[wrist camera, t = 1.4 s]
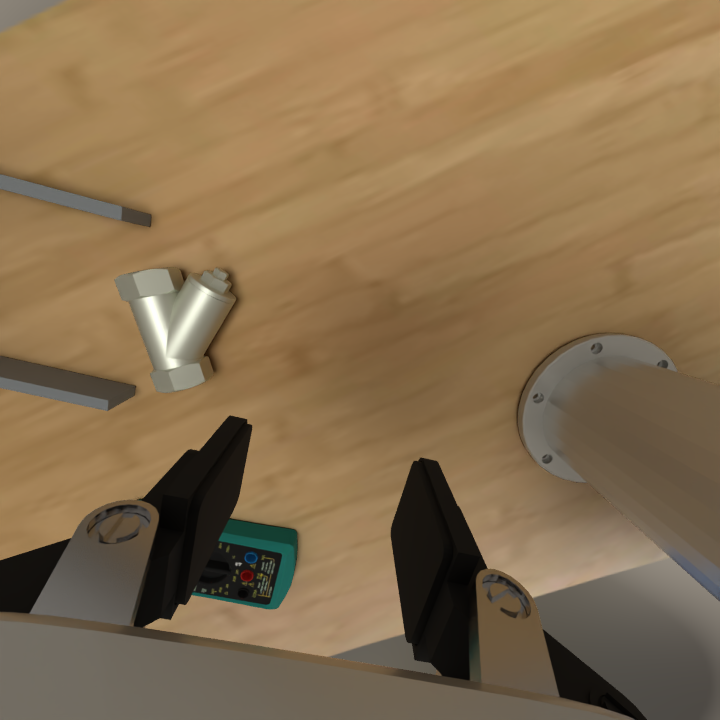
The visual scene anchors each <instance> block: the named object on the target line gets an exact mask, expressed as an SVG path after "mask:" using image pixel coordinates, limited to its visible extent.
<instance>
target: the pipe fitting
mask: <svg viewBox="0 0 720 720" xmlns="http://www.w3.org/2000/svg"><path fill="white" fill-rule="evenodd" d="M228 276H229V274H228V273H227V272H225V271H224V270H222V269H220V268H218V267H216V268H215V270H214V272H212V271H210V270H206V271H204V273H203V275H199V274H196V273H190V274H189V275H188V277H187V279H186V281H185V283H184V280H183V277H182V274H181V271H180V270H179V269H178V268H175V267H167V268H157V269H149V270H143V271H137V272H132V273H128V274H124V275H120V276H118V277H117V278H116V279H115V283H116V286H117V288H118V291H119V294H120V296H121V299H122V300H123V301H127V302H129V304H130V307H131V310H132V312H133V315H134V318H135V320H136V323H137V326H138V328H139V331H140V334H141V336H142V339H143V342H144V344H145V347H146V350H147V352H148V355H149V358H150V360H151V363H152V365H153V368H154V370H153V371H152V372H151V373H150V375H151V378H152V380H153V383H154V385H155V388H156V391H158V392H162V393H171V392H176V391H181V390H185V389H188V388H191V387H194V386H197V385H199V384H202V383H204V382H206V381H208V380H209V379H210V378H211V377H212V376H213V374H214V372H213V369H212V366H211V363H210V359H209V357H208V356H204V353H205V352H206V350H207V348H208V347H209V345H210V343H211V341H212V340H213V338H214V336H215V335H216V333H217V331H218V330H219V328H220V326H221V325H222V323H223V321H224V319H225V318H226V316H227V314H228V313H229V311H230V309H231V308H232V306H233V304H234V302H235V301H236V297H235V296H234V295H233V294H232V293H231V292H230V291H229V289H230V287H231V283H230V282H229V281H228V280H227V278H228Z"/></svg>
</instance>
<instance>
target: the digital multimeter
mask: <svg viewBox="0 0 720 720" xmlns="http://www.w3.org/2000/svg"><path fill="white" fill-rule="evenodd" d="M140 501H141V500H140ZM297 547H298V546H297V532H296V531H295V530H293V529H287V528H281V527H274V526H267V525H261V524H256V523H250V522H245V521H239V520H233V519H229V520H228V522H227V524H226V526H225V528H224V530H223V532H222V534H221V536H220V538H219V540H218V542H217V544H216V546H215V548H214V550H213V553H212V555H211V557H210V559H209V561H208V563H207V565H206V567H205V569H204V571H203V573H202V575H201V577H200V579H199V581H198V583H197V585H196V587H195V589H194V591H193V593H192V595H195V596H201V597H207V598H212V599H217V600H222V601H228V602H233V603H238V604H243V605H248V606H253V607H259V608H264V609H277V608H278V607H279V606H280V604H281V602H282V601H283V599H284V598H285V596H286V594H287V592H288V590H289V588H290V586H291V583H292V579H293V575H294V570H295V565H296V560H297ZM229 575H230V576H229Z"/></svg>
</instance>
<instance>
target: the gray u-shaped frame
mask: <svg viewBox="0 0 720 720" xmlns="http://www.w3.org/2000/svg"><path fill="white" fill-rule="evenodd" d="M0 189H3V190H7V191H11V192H14V193H18V194H22V195H26V196H30V197H33V198H37V199H41V200H45V201H49V202H52V203H56V204H60V205H64V206H68V207H71V208H75V209H79V210H83V211H87V212H90V213H94V214H98V215H102V216H106V217H109V218H113V219H117V220H121V221H125V222H130V223H134V224H139V225H144V226H148V227H150V223H151V215H150V214H146V213H143V212H139V211H136V210H132V209H128V208H125V207H121V206H117V205H114V204H110V203H106V202H102V201H99V200H95V199H91V198H87V197H84V196H80V195H76V194H72V193H69V192H65V191H61V190H58V189H54V188H50V187H46V186H43V185H39V184H35V183H31V182H28V181H24V180H20V179H16V178H13V177H9V176H5V175H1V174H0ZM0 388H3V389H8V390H13V391H17V392H22V393H27V394H31V395H36V396H41V397H45V398H50V399H55V400H59V401H64V402H69V403H73V404H78V405H83V406H87V407H92V408H96V409H101V410H106V411H108V410H110V409H112V408H114V407H115V406H117V405H119V404H121V403H122V402H124V401H126V400H127V399H129V398H131V397H133V396H134V395H135V386H133V385H128V384H124V383H119V382H115V381H111V380H106V379H102V378H97V377H93V376H88V375H84V374H79V373H75V372H70V371H66V370H61V369H57V368H52V367H48V366H43V365H39V364H34V363H30V362H25V361H21V360H16V359H12V358H7V357H3V356H0Z"/></svg>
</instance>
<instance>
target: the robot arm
mask: <svg viewBox="0 0 720 720" xmlns="http://www.w3.org/2000/svg"><path fill="white" fill-rule="evenodd" d="M518 427H519V433H520V437H521V439H522V442H523V444H524V447H525V448H526V450H527V451H528V453H529V454H530V455H531V457H532V458H533V459H534V460H535V461H536V462H537V463H538V464H539V465H540V466H541V467H542V468H544V469H545V470H546V471H548V472H549V473H551V474H552V475H555V476H557V477H559V478H561V479H564V480H569V481H573V482H582V483H588V484H590V485H591V486H592V487H593V488H594V489H595V490H596V491H597V492H598V493H600V494H601V495H602V496H603V497H604V498H605V499H606V500H607V501H608V502H610V503H611V504H612V505H613V506H614V507H615V508H616V509H617V510H618V511H620V512H621V513H622V514H623V515H624V516H625V517H626V518H627V519H628V520H630V521H631V522H632V523H633V524H634V525H635V526H636V527H637V528H638V529H640V530H641V531H642V532H643V533H644V534H645V535H646V536H647V537H648V538H650V539H651V540H652V541H653V542H654V543H655V544H656V545H657V546H658V547H660V548H661V549H662V550H663V551H664V552H665V553H666V554H667V555H668V556H670V557H671V558H672V559H673V560H674V561H675V562H676V563H677V564H678V565H680V566H681V567H682V568H683V569H684V570H685V571H686V572H687V573H688V574H690V575H691V576H692V577H693V578H694V579H695V580H696V581H697V582H698V583H700V584H701V585H702V586H703V587H704V588H705V589H706V590H708V592H710V593H711V594H712V595H713V596H714V597H715V598H716V599H717V600H718V601H720V385H717V384H714V383H711V382H708V381H704V380H701V379H698V378H695V377H692V376H688V375H685V374H682V373H679V372H678V371H677V369H676V367H675V365H674V363H673V361H672V360H671V359H670V358H669V356H668V355H667V354H666V353H665V352H664V351H663V350H662V349H660V348H659V347H657V346H656V345H654V344H653V343H651V342H649V341H646V340H644V339H641V338H638V337H634V336H630V335H625V334H617V333H603V334H595V335H590V336H587V337H584V338H580V339H577V340H575V341H573V342H571V343H569V344H567V345H565V346H563V347H561V348H560V349H558V350H557V351H556V352H554V353H553V354H552V355H550V356H549V357H548V358H547V359H546V360H545V361H544V362H543V363H542V364H541V365H540V366H539V367H538V368H537V369H536V371H535V372H534V374H533V375H532V377H531V378H530V379H529V381H528V383H527V385H526V387H525V389H524V391H523V394H522V396H521V400H520V404H519V408H518ZM251 432H252V425H250V424H247V419H244V418H239V417H235V416H229V417H228V418H227V419H226V420H225V421H224V422H223V424H222V425H221V426H220V427H219V428H218V429H217V431H216V432H215V433H214V434H213V435H212V437H211V438H210V439H209V440H208V441H207V442H206V444H205V445H204V446H203V447H202V448H201V450H200V451H197V450H192V449H190V450H188V451H187V452H185V453H184V455H183V456H182V457H181V458H180V459H179V460H178V461H177V462H176V463H175V464H174V465H173V467H172V468H171V469H170V470H169V471H168V472H167V473H166V474H165V475H164V476H163V477H162V479H161V480H160V481H159V482H158V483H157V484H156V485H155V486H154V487H153V488H152V489H151V491H150V492H149V493H148V494H147V495H146V496H145V497H144V498H143V499H142V500H141V501H140V500H122V501H116V502H113V503H109V504H106V505H104V506H101V507H99V508H97V509H95V510H94V511H92V512H91V513H90V514H88V515H87V516H86V517H85V518H84V519H83V520H82V521H81V523H80V524H79V526H78V527H77V529H76V531H75V533H74V535H73V536H72V538H70V539H67V540H64V541H60V542H57V543H54V544H51V545H48V546H45V547H41V548H38V549H35V550H32V551H29V552H26V553H22V554H19V555H16V556H13V557H10V558H7V559H3V560H0V720H647V719H646V718H645V717H644V716H643V714H642V713H641V712H640V711H639V710H638V709H637V707H636V706H635V705H634V704H633V703H631V702H630V701H629V700H628V699H627V698H626V697H625V696H624V695H623V694H622V693H620V692H619V691H618V690H616V689H615V688H614V687H613V686H612V685H611V684H609V683H608V682H607V681H606V680H604V679H603V678H602V677H601V676H600V675H598V674H597V673H596V672H595V671H593V670H592V669H591V668H590V667H588V666H587V665H586V664H585V663H584V662H582V661H581V660H580V659H579V658H577V657H576V656H575V655H574V654H573V653H571V652H570V651H569V650H568V649H566V648H565V647H564V646H563V645H561V644H560V643H559V642H558V641H557V640H555V639H554V638H553V637H552V636H551V635H549V634H548V633H547V632H546V631H544V630H543V629H542V625H541V621H540V617H539V613H538V609H537V607H536V604H535V602H534V600H533V598H532V597H531V595H530V594H529V592H528V591H527V590H526V589H525V588H524V587H523V586H522V585H521V584H520V583H519V582H518V581H516V580H515V579H514V578H512V577H511V576H509V575H507V574H505V573H504V572H501V571H498V570H495V569H488V568H487V566H486V564H485V562H484V560H483V557H482V555H481V553H480V551H479V549H478V546H477V544H476V542H475V540H474V538H473V535H472V533H471V531H470V529H469V527H468V524H467V522H466V520H465V518H464V516H463V513H462V511H461V509H460V508H459V506H457V503H456V501H455V499H454V497H453V494H452V492H451V490H450V488H449V486H448V483H447V481H446V479H445V477H444V474H443V472H442V470H441V468H440V466H439V463H438V462H437V461H434V460H430V459H425V458H420V459H419V460H418V461H414V462H413V464H412V466H411V469H410V472H409V475H408V478H407V481H406V484H405V487H404V490H403V493H402V496H401V499H400V502H399V505H398V508H397V511H396V514H395V517H394V520H393V523H392V527H391V541H392V548H393V555H394V562H395V569H396V575H397V582H398V589H399V596H400V603H401V610H402V617H403V623H404V630H405V637H406V640H407V642H408V643H412V646H413V653H414V659H415V660H417V661H423V662H429V663H431V664H432V665H433V666H434V667H435V668H436V669H437V671H436V675H432V674H427V673H421V672H415V671H409V670H403V669H397V668H392V667H385V666H379V665H373V664H367V663H361V662H354V661H348V660H343V659H337V658H330V657H324V656H318V655H312V654H306V653H300V652H293V651H287V650H281V649H275V648H269V647H262V646H256V645H250V644H243V643H237V642H230V641H224V640H218V639H211V638H205V637H198V636H192V635H185V634H179V633H173V632H166V631H160V630H153V629H147V628H145V626H146V625H148V624H150V623H152V622H153V621H155V620H157V619H159V618H163V619H169V620H171V618H172V616H173V614H174V612H175V611H176V609H177V607H178V605H179V604H183V605H186V604H187V602H188V601H189V599H190V597H191V595H192V593H193V591H194V589H195V587H196V585H197V583H198V581H199V579H200V577H201V575H202V573H203V571H204V569H205V567H206V565H207V563H208V561H209V559H210V557H211V555H212V553H213V550H214V548H215V546H216V544H217V542H218V540H219V538H220V536H221V534H222V532H223V530H224V528H225V526H226V524H227V522H228V520H229V518H230V516H231V514H232V512H233V510H234V508H235V506H236V504H237V501H238V498H239V494H240V489H241V484H242V479H243V473H244V468H245V463H246V458H247V452H248V447H249V442H250V437H251Z"/></svg>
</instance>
